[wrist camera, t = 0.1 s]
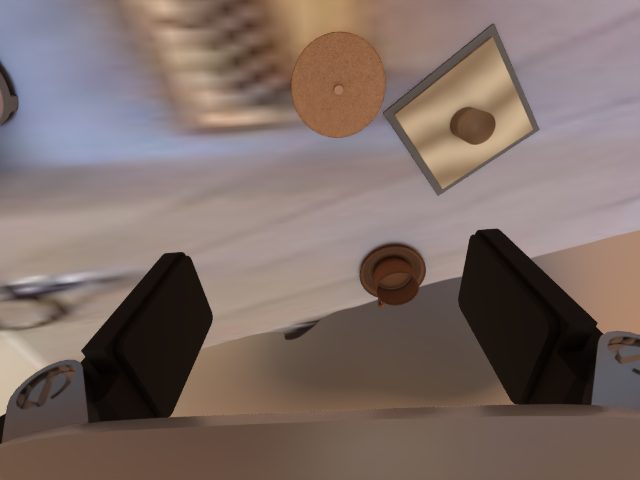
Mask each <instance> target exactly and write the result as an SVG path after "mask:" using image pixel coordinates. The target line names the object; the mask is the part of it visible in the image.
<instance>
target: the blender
mask: <svg viewBox="0 0 640 480" xmlns="http://www.w3.org/2000/svg"><path fill="white" fill-rule="evenodd" d="M17 108H18V98H17V96H14V95H10V93H9V89H8V86H7V84H6V82H5V80H4V78H3V76H2V74H1V72H0V125H1V124H3V123H4V122H5V121H6V120H7V118H8V117H9V114H10V112H13V111H16V110H17Z"/></svg>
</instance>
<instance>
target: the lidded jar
mask: <svg viewBox="0 0 640 480" xmlns="http://www.w3.org/2000/svg"><path fill="white" fill-rule="evenodd" d="M291 91H292V98H293V102H294V105H295V108H296V111H297V112H298V114H299V116H300V118H301V119H302V120H303V121H304V123H305V124H306V125H307V126H308V127H309V128H311V129H312V130H314V131H315V132H317V133H319V134H321V135H324V136H327V137H334V138H340V137H347V136H350V135H353V134H355V133H357V132H359V131H361V130H362V129H364V128H365V127H366V126H367V125H368V124H369V123H370V122H371V121H372V120H373V119H374V117H375V116H376V114H377V113H378V111H379V109H380V107H381V104H382V101H383V98H384V93H385V73H384V68H383V65H382V62H381V60H380V58H379V56H378V54H377V53H376V51H375V50H374V48H373V47H372V46H371V45H370V44H369V43H368V42H366V41H365V40H364V39H362V38H361V37H359V36H357V35H354V34H351V33H347V32H332V33H328V34H325V35H323V36H321V37H318V38H317V39H315V40H314V41H313V42H311V43H310V44H309V45H308V46H307V47H306V48H305V49H304V51H303V52H302V53H301V55H300V56H299V58H298V60H297V62H296V64H295V67H294V70H293V75H292V82H291Z"/></svg>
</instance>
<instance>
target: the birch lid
mask: <svg viewBox="0 0 640 480" xmlns="http://www.w3.org/2000/svg"><path fill="white" fill-rule="evenodd" d="M394 116H395V117H396V119H397V120H398V122H399V123H400V125H401V127H402V128H403V130H404V131H405V133H406V134H407V136H408V137H409V139H410V140H411V142H412V144H413V145H414V147H415V148H416V150H417V151H418V153H419V154H420V156H421V157H422V159H423V160H424V162H425V164H426V165H427V167H428V168H429V170H430V171H431V173H432V174H433V176H434V177H435V179H436V181H437V182H438V184H439V185H440V187H441V188H442V189H444V188H445V187H447V186H448V185H450V184H451V183H453V182H454V181H456V180H458V179H459V178H461V177H462V176H464V175H465V174H467V173H468V172H470V171H471V170H473V169H474V168H476V167H477V166H479V165H480V164H482V163H483V162H485V161H486V160H488V159H490V158H491V157H493V156H494V155H496V154H497V153H499V152H500V151H502V150H503V149H505V148H506V147H508V146H509V145H511V144H512V143H514V142H515V141H517V140H518V139H520V138H522V137H523V136H525V135H526V134H528V133H529V132H531V131H532V130H533V128H532V126H531V123H530V121H529V119H528V117H527V114H526V112H525V110H524V107H523V105H522V103H521V101H520V98H519V96H518V94H517V91H516V89H515V87H514V85H513V82H512V80H511V78H510V75H509V73H508V71H507V69H506V66H505V64H504V62H503V59H502V57H501V55H500V53H499V50H498V48H497V46H496V43H495V41H494V39H493V37H489V38H488V39H487V40H486V41H484V42H483V43H482V44H481V45H479V46H478V47H477V48H476V49H474V50H473V51H472V52H471V53H469V54H468V55H467V56H466V57H464V58H463V59H462V60H461V61H459V62H458V63H457V64H456V65H454V66H453V67H452V68H451V69H449V70H448V71H447V72H446V73H444V74H443V75H442V76H441V77H439V78H438V79H437V80H436V81H434V82H433V83H432V84H431V85H429V86H428V87H427V88H426V89H424V90H423V91H422V92H421V93H419V94H418V95H417V96H416V97H414V98H413V99H412V100H411V101H409V102H408V103H407V104H406V105H404V106H403V107H402V108H401V109H399V110H398V111H397V112H396V113H394Z"/></svg>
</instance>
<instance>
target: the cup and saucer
mask: <svg viewBox="0 0 640 480" xmlns="http://www.w3.org/2000/svg"><path fill="white" fill-rule="evenodd" d="M425 274H426V267H425V263H424V261H423V259H422V258H421V257H420V255H419V254H417V253H416V252H415V251H413V250H411V249H409V248H406V247H401V246H390V247H385V248H382V249H380V250H377V251H376V252H374V253H372V254H371V255H370V256H369V257H368V258H367V259H366V260H365V262H364V263H363V265H362V267H361V271H360V281H361V284H362V286H363V287H364V289H365V290H366V291H367V292H368V293H370V294H371V295H373V296H375V297H378V306H379V307H383V306H384V305H385V304H388V305H402V304H405V303H408V302H409V301H411V300H412V299H413V298H414V297H415V296H416V295H417V293H418V291H419V286H420V285H421V283H422V282H423V280H424V277H425ZM381 301H382V302H383V303H382V304H381Z"/></svg>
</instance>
